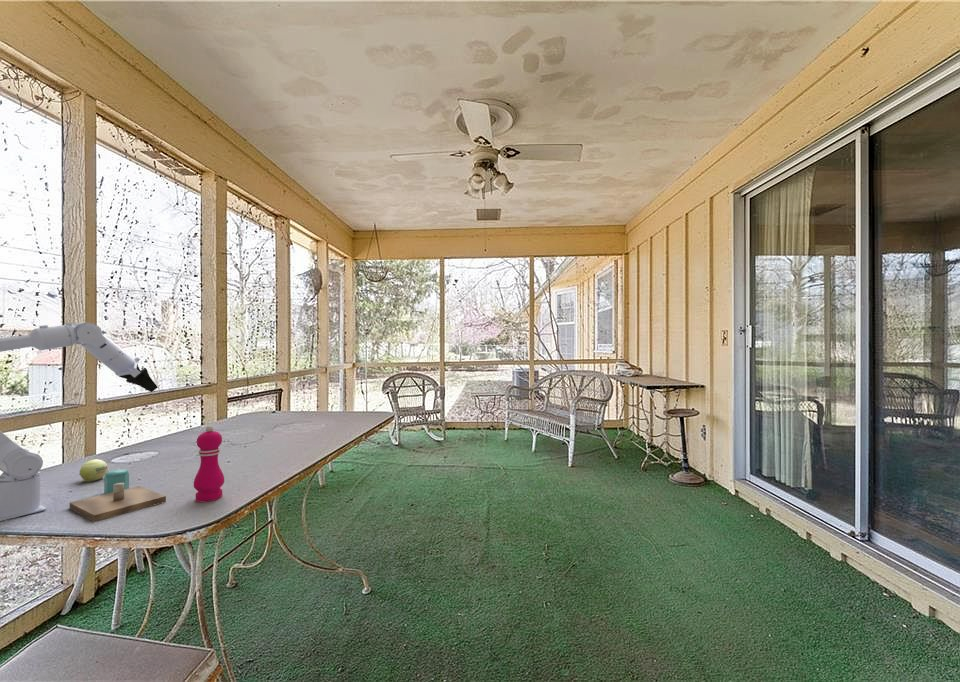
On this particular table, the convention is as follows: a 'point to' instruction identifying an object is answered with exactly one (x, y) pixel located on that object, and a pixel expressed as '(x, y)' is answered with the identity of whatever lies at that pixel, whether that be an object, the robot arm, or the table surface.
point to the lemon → (93, 470)
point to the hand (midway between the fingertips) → (150, 387)
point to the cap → (115, 479)
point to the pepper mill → (209, 467)
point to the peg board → (116, 502)
